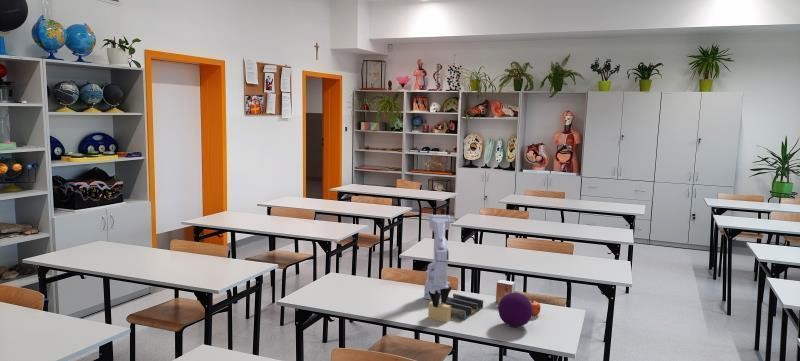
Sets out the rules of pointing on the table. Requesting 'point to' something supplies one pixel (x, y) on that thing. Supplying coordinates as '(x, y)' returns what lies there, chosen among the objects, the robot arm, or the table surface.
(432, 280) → the robot arm
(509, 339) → the table surface
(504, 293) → the small box
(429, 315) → the tan rectangular block
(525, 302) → the toy ball
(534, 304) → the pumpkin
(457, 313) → the rack
